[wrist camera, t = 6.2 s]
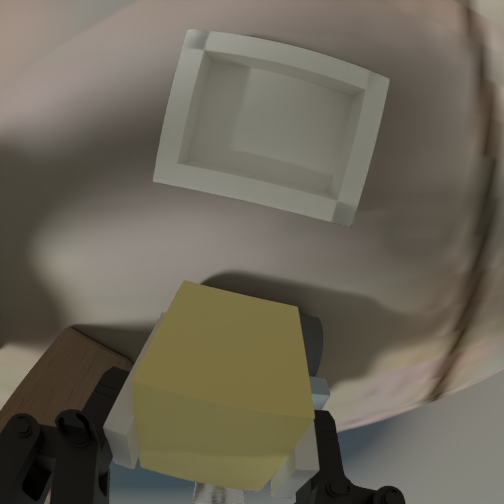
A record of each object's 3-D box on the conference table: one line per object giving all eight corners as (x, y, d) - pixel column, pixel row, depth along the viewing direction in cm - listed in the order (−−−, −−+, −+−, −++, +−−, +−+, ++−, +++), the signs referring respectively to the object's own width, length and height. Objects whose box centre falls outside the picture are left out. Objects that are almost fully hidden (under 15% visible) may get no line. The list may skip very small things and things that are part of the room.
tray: (169, 175, 23) (152, 181, 20) (199, 45, 19) (188, 29, 16) (337, 214, 24) (350, 227, 21) (371, 87, 20) (390, 79, 16)
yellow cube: (172, 375, 14) (140, 467, 9) (184, 280, 12) (131, 379, 7) (262, 395, 15) (259, 491, 9) (297, 306, 13) (314, 417, 7)
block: (137, 359, 31) (72, 505, 12) (124, 401, 34) (76, 518, 16) (67, 321, 30) (-24, 439, 11) (64, 368, 33) (0, 471, 14)
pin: (204, 429, 22) (182, 559, 10) (209, 407, 21) (184, 555, 9) (244, 436, 22) (235, 566, 10) (253, 415, 21) (246, 563, 9)
